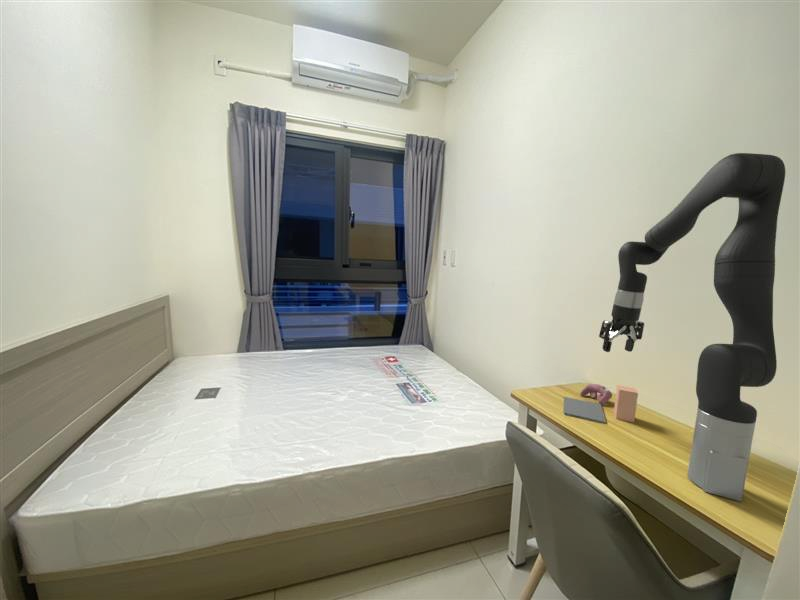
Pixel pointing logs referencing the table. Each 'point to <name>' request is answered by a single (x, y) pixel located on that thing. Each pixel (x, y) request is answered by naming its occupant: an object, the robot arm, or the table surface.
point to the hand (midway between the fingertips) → (617, 351)
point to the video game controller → (595, 388)
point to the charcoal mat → (584, 410)
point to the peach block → (625, 403)
